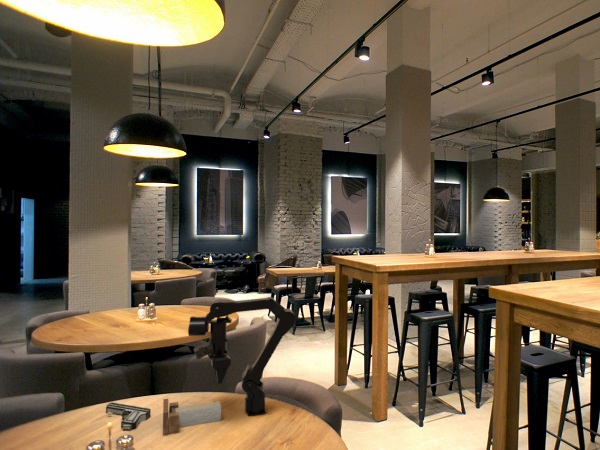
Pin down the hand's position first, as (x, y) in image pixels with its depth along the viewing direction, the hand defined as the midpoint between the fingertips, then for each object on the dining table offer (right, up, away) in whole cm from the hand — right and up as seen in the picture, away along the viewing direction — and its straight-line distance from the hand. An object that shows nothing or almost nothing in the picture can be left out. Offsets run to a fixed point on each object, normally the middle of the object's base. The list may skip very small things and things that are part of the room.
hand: (218, 379), depth 133 cm
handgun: (-33, -13, -5) cm, 35 cm away
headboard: (-13, -12, -9) cm, 20 cm away
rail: (-6, -12, -7) cm, 15 cm away
